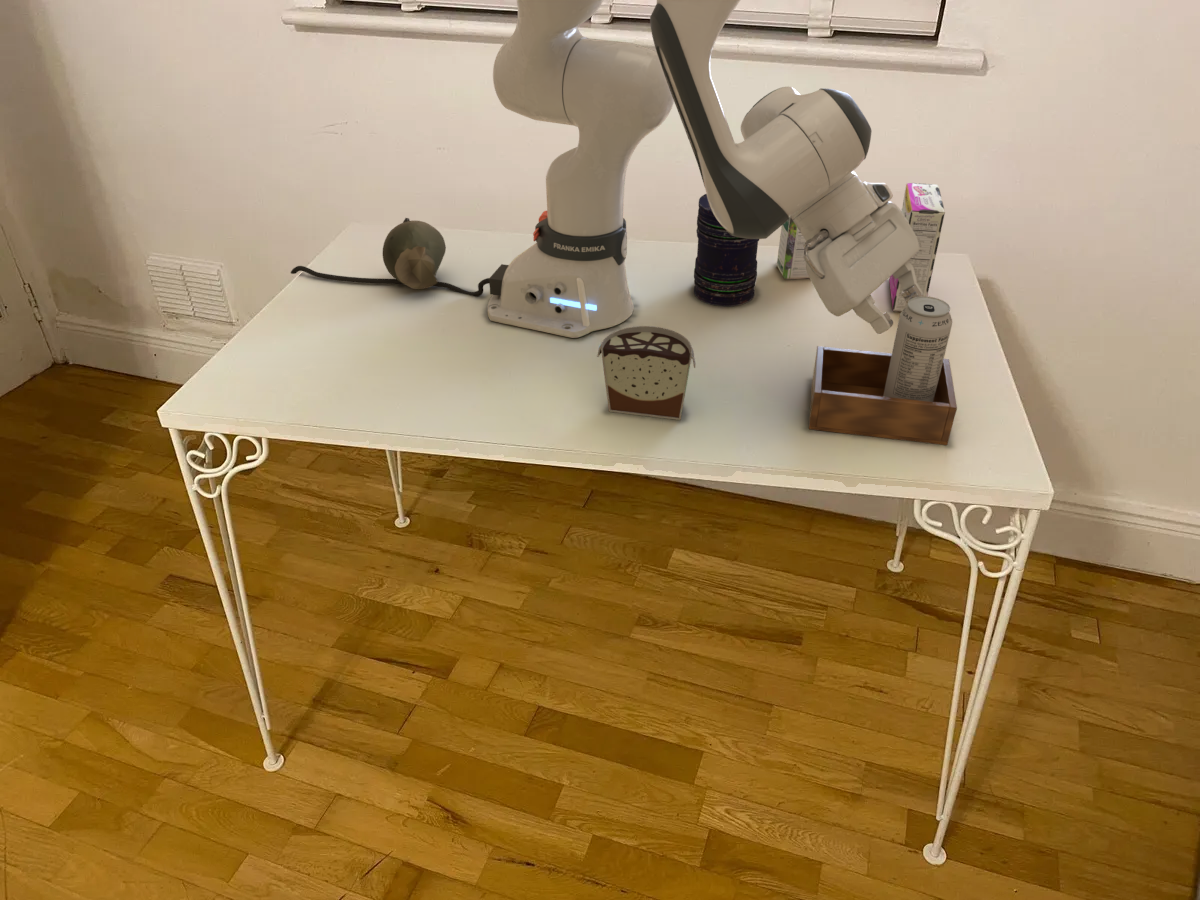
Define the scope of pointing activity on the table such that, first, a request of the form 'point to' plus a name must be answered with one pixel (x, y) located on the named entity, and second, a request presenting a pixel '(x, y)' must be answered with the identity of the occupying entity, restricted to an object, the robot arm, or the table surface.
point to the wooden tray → (875, 399)
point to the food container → (646, 371)
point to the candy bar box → (920, 236)
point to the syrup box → (791, 252)
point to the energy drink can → (919, 349)
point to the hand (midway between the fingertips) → (902, 314)
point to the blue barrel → (723, 262)
